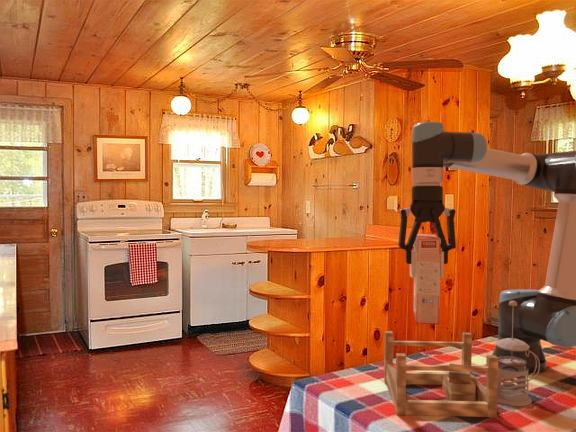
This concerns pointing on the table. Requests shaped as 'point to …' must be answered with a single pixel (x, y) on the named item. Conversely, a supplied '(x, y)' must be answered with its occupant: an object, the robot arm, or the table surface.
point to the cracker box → (427, 279)
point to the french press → (513, 372)
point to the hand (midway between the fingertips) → (426, 276)
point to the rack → (439, 381)
